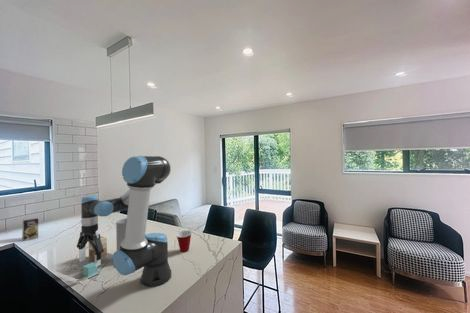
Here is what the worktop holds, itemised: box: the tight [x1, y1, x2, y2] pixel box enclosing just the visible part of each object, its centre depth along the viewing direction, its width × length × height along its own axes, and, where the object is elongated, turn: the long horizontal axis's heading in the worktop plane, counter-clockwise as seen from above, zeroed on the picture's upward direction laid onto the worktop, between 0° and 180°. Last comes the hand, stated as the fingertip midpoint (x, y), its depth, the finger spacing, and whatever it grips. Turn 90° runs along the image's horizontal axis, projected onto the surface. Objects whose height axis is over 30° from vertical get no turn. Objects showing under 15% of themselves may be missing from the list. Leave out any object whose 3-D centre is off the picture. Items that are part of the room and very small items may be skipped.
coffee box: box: [21, 218, 39, 242], centre depth 179 cm, size 9×6×16 cm
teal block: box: [82, 262, 99, 280], centre depth 116 cm, size 5×5×6 cm
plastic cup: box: [175, 230, 193, 253], centre depth 146 cm, size 11×11×12 cm
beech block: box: [88, 235, 108, 251], centre depth 135 cm, size 7×7×6 cm
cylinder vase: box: [115, 217, 127, 251], centre depth 134 cm, size 12×12×25 cm
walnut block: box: [88, 246, 108, 261], centre depth 135 cm, size 7×7×6 cm
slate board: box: [72, 252, 114, 268], centre depth 133 cm, size 18×18×2 cm
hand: (89, 263), depth 116 cm, fingers open, 13 cm apart
